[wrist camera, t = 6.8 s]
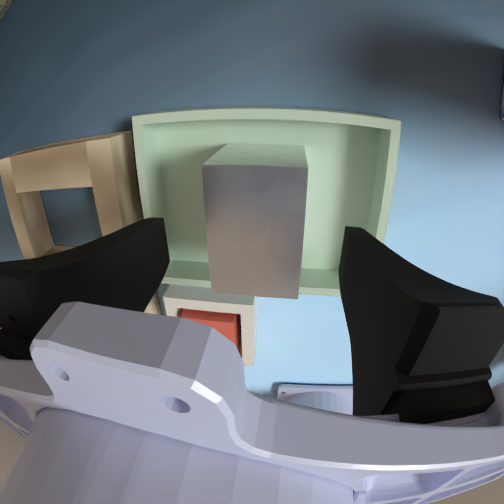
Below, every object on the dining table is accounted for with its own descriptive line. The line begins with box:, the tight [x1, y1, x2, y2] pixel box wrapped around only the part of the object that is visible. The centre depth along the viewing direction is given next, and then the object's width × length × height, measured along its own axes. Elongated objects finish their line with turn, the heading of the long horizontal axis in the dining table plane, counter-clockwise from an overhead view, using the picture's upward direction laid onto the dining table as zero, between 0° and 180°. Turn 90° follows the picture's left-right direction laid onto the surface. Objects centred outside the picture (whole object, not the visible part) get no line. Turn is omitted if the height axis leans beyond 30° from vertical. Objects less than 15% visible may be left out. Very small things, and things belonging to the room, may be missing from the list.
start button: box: [180, 309, 240, 349], centre depth 21 cm, size 4×4×2 cm
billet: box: [202, 143, 308, 299], centre depth 15 cm, size 4×6×5 cm, turn 1°
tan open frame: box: [0, 131, 162, 315], centre depth 21 cm, size 20×11×2 cm, turn 1°
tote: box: [132, 106, 401, 296], centre depth 16 cm, size 10×13×2 cm
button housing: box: [163, 284, 257, 366], centre depth 21 cm, size 6×6×2 cm
